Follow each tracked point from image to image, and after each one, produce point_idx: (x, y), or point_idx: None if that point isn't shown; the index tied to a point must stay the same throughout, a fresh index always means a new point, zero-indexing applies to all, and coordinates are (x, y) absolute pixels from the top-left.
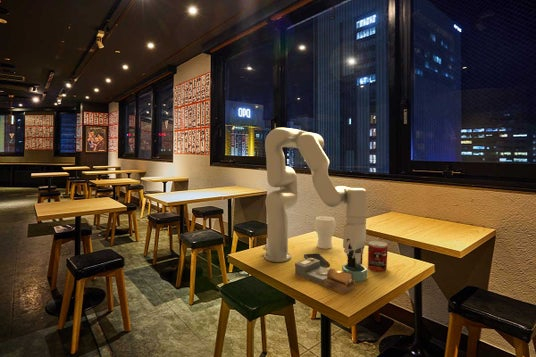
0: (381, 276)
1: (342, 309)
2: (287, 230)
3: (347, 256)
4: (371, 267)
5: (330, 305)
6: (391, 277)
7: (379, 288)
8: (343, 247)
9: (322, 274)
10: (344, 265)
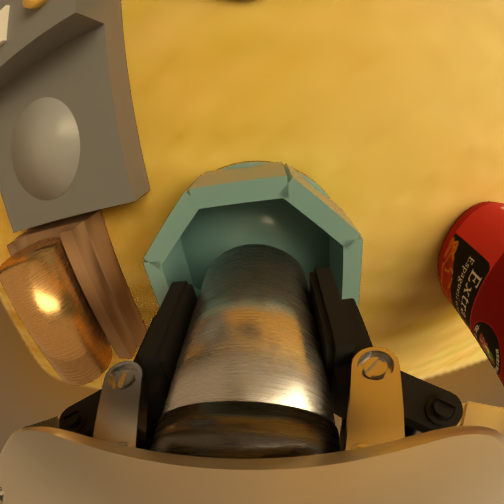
0: (390, 325)
1: (42, 359)
2: None
3: (121, 365)
4: (447, 260)
5: (20, 331)
6: (406, 349)
7: None
8: (17, 434)
9: (30, 172)
10: (214, 199)
